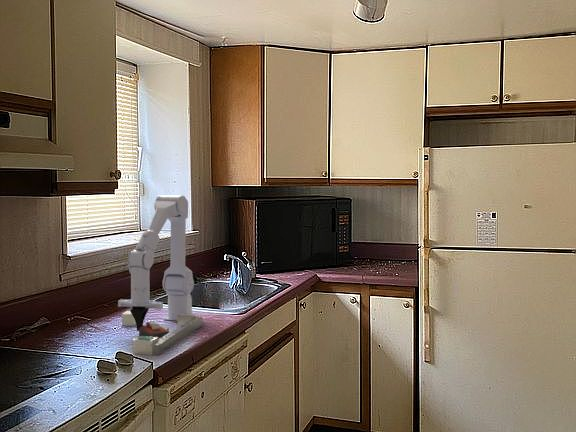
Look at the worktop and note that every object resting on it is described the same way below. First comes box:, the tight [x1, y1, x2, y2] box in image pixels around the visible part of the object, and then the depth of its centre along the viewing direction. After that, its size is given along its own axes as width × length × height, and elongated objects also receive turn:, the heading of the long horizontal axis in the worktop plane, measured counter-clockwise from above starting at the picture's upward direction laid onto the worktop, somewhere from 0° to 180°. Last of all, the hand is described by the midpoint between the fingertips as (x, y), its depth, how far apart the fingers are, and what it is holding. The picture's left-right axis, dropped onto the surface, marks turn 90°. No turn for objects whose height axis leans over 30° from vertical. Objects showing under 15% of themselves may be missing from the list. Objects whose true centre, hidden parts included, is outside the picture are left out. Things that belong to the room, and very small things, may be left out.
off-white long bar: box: [132, 313, 203, 356], centre depth 190 cm, size 35×8×4 cm, turn 168°
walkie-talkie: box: [138, 321, 170, 339], centre depth 194 cm, size 9×4×20 cm
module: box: [121, 310, 136, 327], centre depth 208 cm, size 5×4×4 cm
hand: (140, 330), depth 194 cm, fingers closed, pressing on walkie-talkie
